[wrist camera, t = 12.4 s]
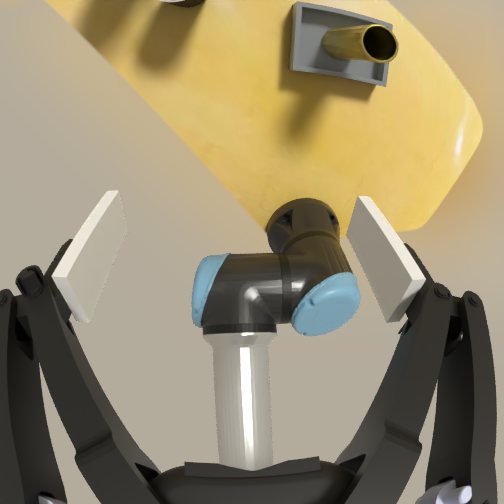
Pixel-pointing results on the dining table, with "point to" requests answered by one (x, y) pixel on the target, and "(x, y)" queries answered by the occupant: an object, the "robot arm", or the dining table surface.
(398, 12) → the dining table surface
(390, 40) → the vase
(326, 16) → the tray
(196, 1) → the coffee mug
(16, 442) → the robot arm
